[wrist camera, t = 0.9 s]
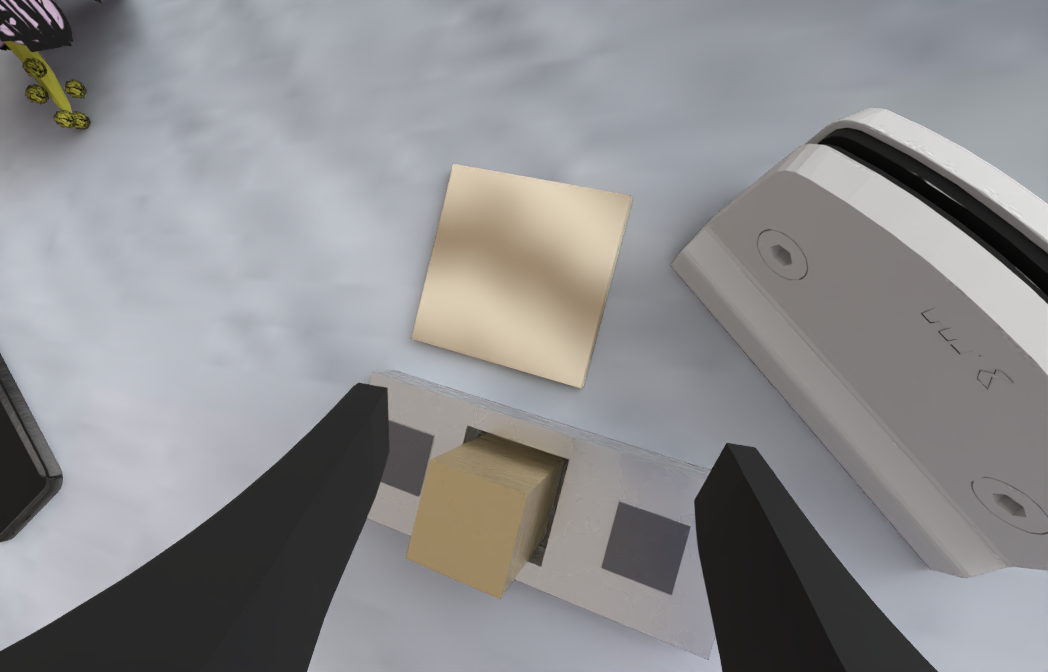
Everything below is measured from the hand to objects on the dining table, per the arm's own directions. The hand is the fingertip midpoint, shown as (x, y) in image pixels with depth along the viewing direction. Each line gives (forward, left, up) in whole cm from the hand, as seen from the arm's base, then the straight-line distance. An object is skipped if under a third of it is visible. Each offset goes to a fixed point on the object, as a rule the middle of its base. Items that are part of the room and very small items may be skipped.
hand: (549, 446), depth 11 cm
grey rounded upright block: (+5, -9, -14) cm, 17 cm away
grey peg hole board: (-6, +3, -14) cm, 15 cm away
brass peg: (-6, +4, -14) cm, 15 cm away
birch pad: (+4, +6, -14) cm, 16 cm away
